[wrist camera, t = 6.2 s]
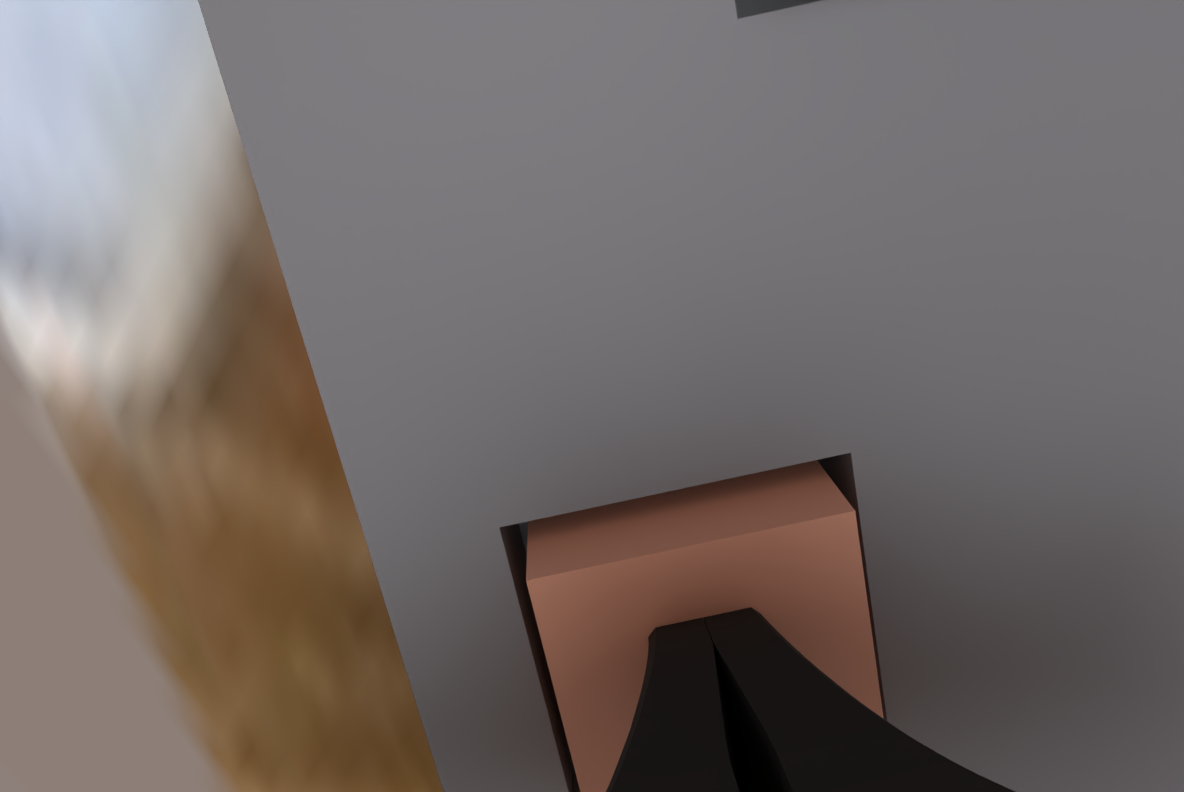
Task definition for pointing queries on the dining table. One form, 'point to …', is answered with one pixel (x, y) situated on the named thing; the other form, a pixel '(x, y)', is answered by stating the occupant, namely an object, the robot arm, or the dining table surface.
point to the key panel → (754, 329)
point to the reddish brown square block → (693, 591)
